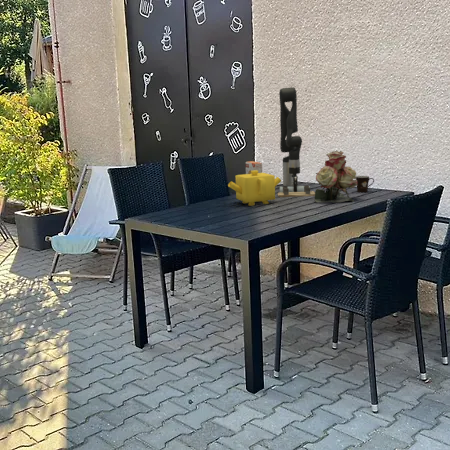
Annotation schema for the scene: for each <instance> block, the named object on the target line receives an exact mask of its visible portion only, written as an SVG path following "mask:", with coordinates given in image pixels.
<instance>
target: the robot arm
mask: <svg viewBox="0 0 450 450" xmlns="http://www.w3.org/2000/svg"><path fill="white" fill-rule="evenodd" d="M278 95H279V96H278V97H279V106H280V108H279V109H280V111H279V113H280V114H279V115H280V116H279V117H280V119H279V120H280V121H279V124H280V125H279V126H280V140H279V141H280V142H279V145H280V146H279V147H280V152H281V153H288V155H287V156H284V157H282V185H283V186H282V187H289V186H293V187H294V192H297V186H299V185H298V183H299V181H298V179H299V178H298V174H301V161H300V159H301V158H300V154H301V153H300V152H301V149H302V148H301V147H302V144H303V139H302V137H301V136H300V135H295V136H293V134H296V133H298V131H299V126H298V118H297V115H298V103H297V102H298V99H297V97H298V96H297V95H298V94H297V90H296V88H295V87H284V88H280V89H279V94H278ZM286 103H291V108H290V110H289V108H288V107H287V106H286Z"/></svg>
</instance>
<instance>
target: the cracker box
mask: <svg viewBox="0 0 450 450" xmlns="http://www.w3.org/2000/svg"><path fill="white" fill-rule="evenodd" d="M253 170H257V171H258V173H263V162H258V161H254V160H252V161H251V160H249V161H246V162H245V174H252V173H251V171H253Z"/></svg>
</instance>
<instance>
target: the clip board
mask: <svg viewBox="0 0 450 450" xmlns="http://www.w3.org/2000/svg"><path fill="white" fill-rule="evenodd" d="M303 186H304V192H289V188H288V187H289V186H282V187H283V192H282V193H280V192H277V196H278V198H292V197H293V198H294V197H296V198H297V197H315V191H313V190H312V191H311V186H310V185H303ZM309 186H310V187H309Z"/></svg>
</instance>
